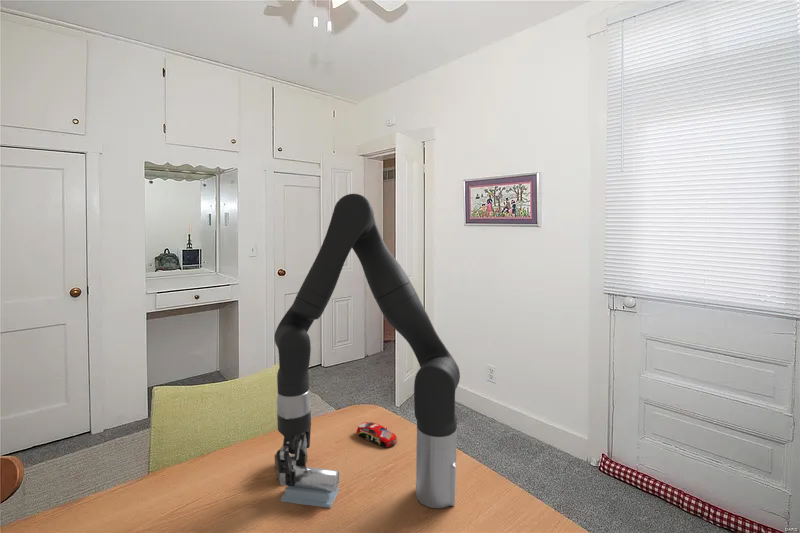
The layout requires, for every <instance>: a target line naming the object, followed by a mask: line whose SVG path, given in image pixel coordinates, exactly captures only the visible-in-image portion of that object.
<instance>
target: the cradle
mask: <svg viewBox="0 0 800 533" xmlns="http://www.w3.org/2000/svg"><path fill="white" fill-rule="evenodd" d="M339 490H340V487H339V486H338V487H337V490H336V491H335V492H332V491H324V490H316V489H309V488H301V487H293V486H286V488H285V491H284V493H283V494H282V495H281V497H280V502H282V503H283V502H284V503H291V504H297V505H305V506H313V507H322V508H328V509H331V508H332V506H333V503H334V502H335V499H336V497H337V495H338V493H339V492H340V491H339Z"/></svg>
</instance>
